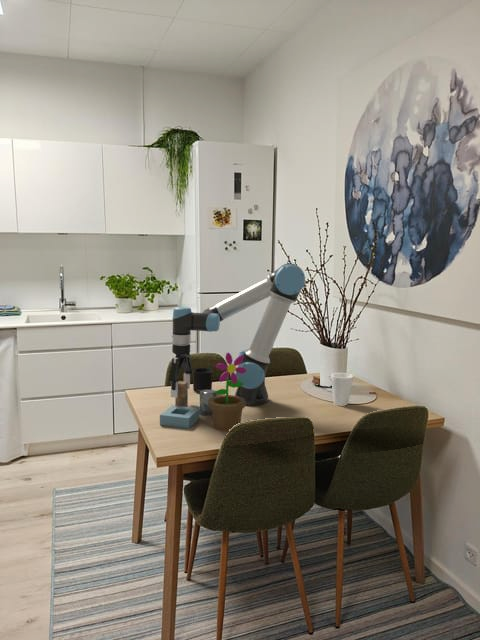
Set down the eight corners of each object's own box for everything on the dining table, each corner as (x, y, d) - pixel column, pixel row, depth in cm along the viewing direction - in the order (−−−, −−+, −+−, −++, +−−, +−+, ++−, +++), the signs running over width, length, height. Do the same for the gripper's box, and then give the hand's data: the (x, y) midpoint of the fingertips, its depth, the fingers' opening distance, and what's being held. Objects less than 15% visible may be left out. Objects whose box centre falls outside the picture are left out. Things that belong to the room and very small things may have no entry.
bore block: (199, 418, 205) (199, 408, 205) (188, 428, 194) (188, 418, 193) (172, 414, 209) (172, 405, 208) (159, 424, 197) (159, 414, 197)
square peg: (187, 406, 220) (187, 381, 218) (184, 409, 216) (184, 384, 214) (179, 405, 221) (179, 380, 219) (175, 408, 217) (175, 383, 215)
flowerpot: (216, 435, 188) (216, 355, 183) (203, 422, 201) (203, 347, 196) (251, 429, 194) (252, 352, 189) (236, 417, 207) (237, 345, 202)
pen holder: (188, 390, 243) (188, 369, 242) (204, 386, 250) (204, 367, 248) (200, 394, 236) (200, 374, 235) (216, 391, 242) (216, 370, 241)
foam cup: (353, 402, 229) (355, 374, 227) (349, 408, 220) (350, 379, 218) (333, 399, 233) (334, 371, 231) (327, 405, 224) (328, 376, 222)
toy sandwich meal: (342, 387, 253) (342, 378, 252) (316, 388, 250) (317, 379, 249) (332, 380, 265) (332, 372, 264) (307, 382, 262) (308, 373, 261)
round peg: (218, 411, 214) (218, 390, 213) (212, 416, 208) (213, 395, 206) (203, 409, 216) (203, 389, 215) (197, 414, 210) (197, 393, 208)
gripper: (184, 337, 227) (183, 384, 230) (160, 348, 203) (160, 399, 206) (200, 339, 225) (199, 385, 228) (178, 350, 201) (177, 402, 204)
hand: (180, 392), depth 217 cm, fingers open, 13 cm apart
